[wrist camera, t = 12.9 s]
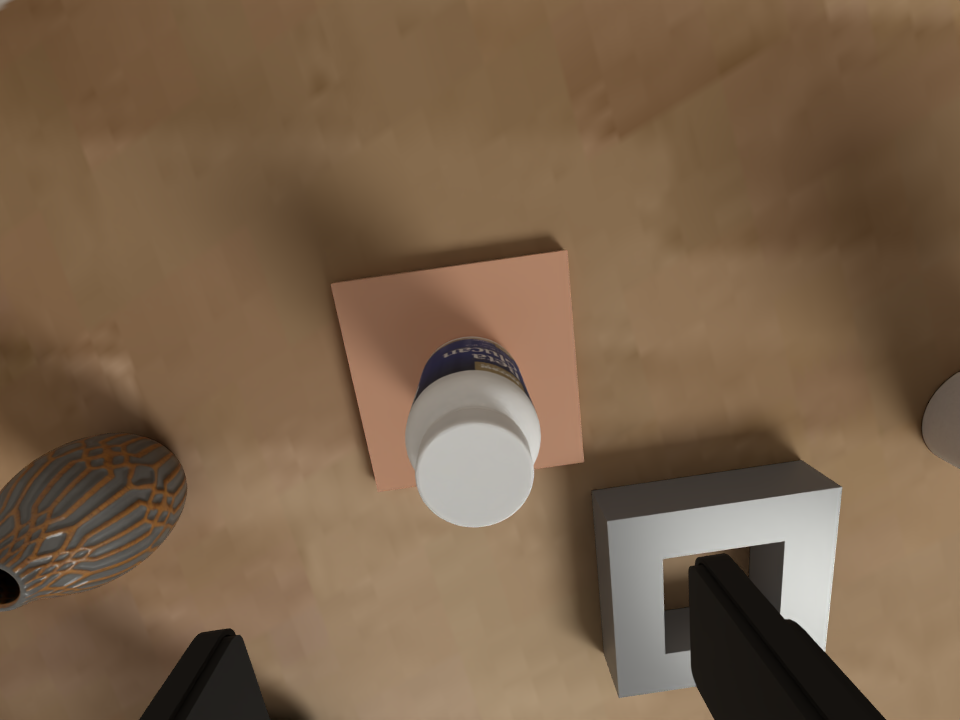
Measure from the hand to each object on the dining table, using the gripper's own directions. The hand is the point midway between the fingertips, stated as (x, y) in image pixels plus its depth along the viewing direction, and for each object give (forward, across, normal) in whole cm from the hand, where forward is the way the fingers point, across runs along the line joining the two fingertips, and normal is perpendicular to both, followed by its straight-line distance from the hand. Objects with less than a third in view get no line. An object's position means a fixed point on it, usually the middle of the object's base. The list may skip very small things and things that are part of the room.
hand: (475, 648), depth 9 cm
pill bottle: (+16, 0, -1) cm, 16 cm away
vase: (+17, +19, +2) cm, 25 cm away
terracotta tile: (+16, 0, -1) cm, 16 cm away
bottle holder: (+17, -13, +14) cm, 25 cm away
